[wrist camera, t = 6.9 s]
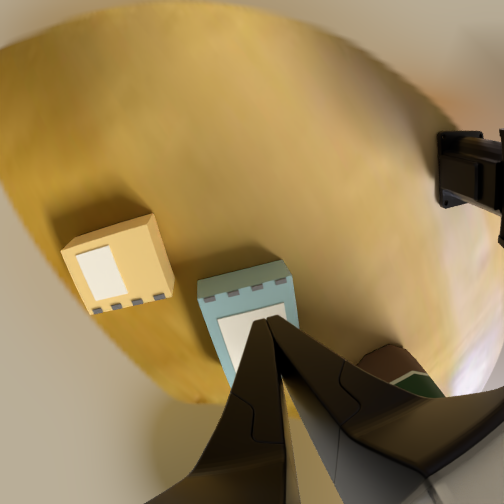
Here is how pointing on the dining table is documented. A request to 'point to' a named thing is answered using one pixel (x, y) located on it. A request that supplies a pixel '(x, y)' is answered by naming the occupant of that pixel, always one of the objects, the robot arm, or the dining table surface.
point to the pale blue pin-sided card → (244, 307)
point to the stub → (120, 265)
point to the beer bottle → (400, 371)
